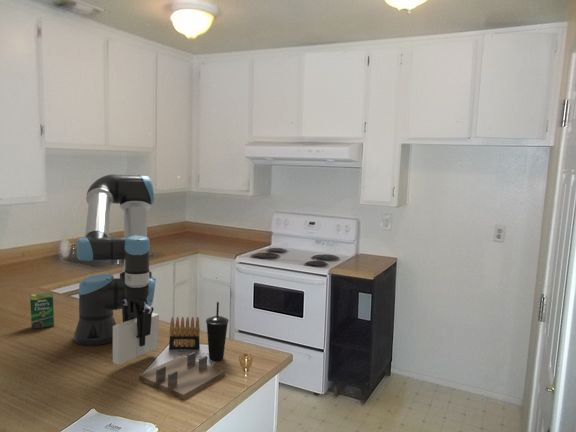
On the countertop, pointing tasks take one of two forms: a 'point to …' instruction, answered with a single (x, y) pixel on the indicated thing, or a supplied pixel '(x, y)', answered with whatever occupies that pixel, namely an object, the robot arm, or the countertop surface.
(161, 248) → the countertop surface
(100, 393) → the countertop surface
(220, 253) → the countertop surface
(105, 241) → the robot arm
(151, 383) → the clip board
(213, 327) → the drinking cup
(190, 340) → the ammunition clip
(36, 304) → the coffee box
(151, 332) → the door panel
